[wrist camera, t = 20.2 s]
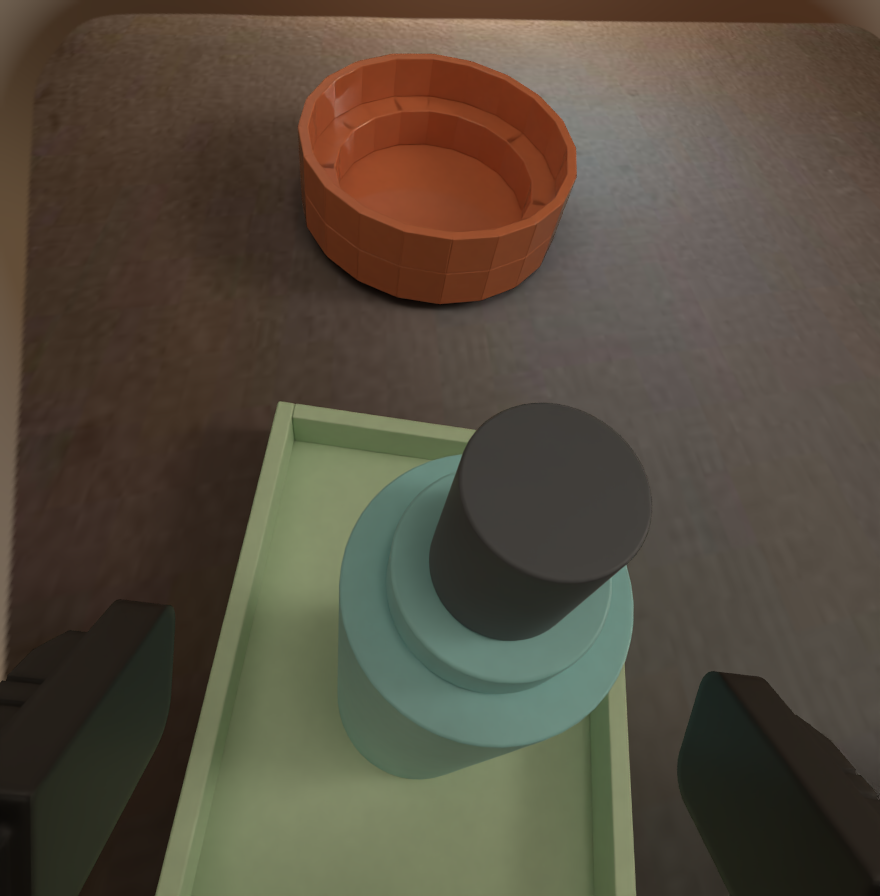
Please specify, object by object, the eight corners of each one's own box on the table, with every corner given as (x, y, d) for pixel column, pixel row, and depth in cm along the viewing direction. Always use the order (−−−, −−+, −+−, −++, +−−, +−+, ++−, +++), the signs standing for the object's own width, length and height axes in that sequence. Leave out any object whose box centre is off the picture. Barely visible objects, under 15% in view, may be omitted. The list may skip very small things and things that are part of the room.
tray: (141, 1020, 19) (116, 1048, 17) (282, 431, 30) (278, 400, 27) (612, 1056, 21) (646, 1085, 18) (593, 476, 31) (614, 449, 28)
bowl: (280, 287, 33) (271, 209, 29) (326, 116, 40) (326, 32, 36) (548, 330, 35) (579, 261, 30) (549, 157, 41) (574, 80, 37)
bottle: (324, 769, 23) (301, 683, 8) (351, 599, 26) (373, 290, 10) (494, 787, 23) (798, 741, 8) (501, 618, 26) (733, 349, 11)
